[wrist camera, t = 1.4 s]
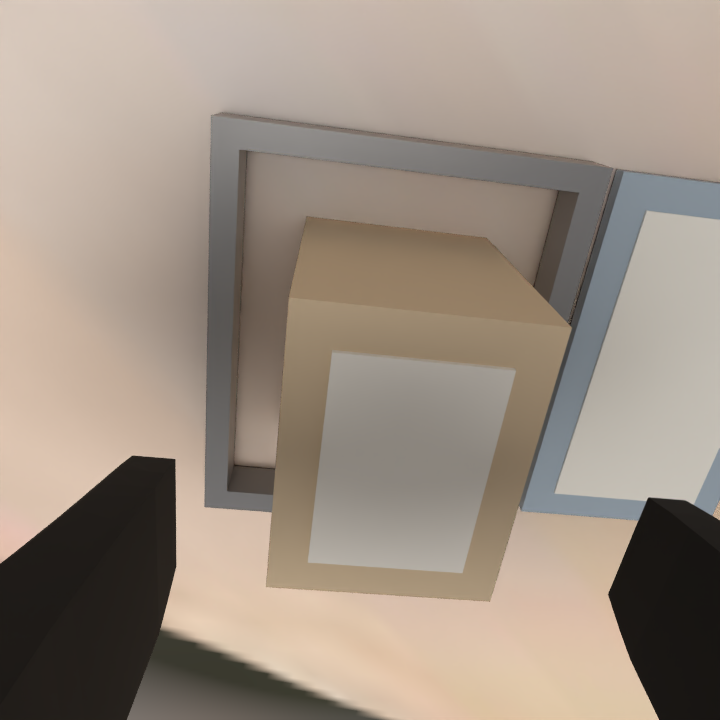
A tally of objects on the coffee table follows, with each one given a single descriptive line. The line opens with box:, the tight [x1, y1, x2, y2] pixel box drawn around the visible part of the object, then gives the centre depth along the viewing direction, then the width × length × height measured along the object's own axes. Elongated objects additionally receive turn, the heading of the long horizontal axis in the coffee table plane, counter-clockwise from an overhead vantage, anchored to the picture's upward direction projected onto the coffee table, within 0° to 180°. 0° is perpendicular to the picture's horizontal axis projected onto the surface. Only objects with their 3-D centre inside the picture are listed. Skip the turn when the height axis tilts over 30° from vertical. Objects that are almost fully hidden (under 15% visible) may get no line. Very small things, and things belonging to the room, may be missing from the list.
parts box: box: [266, 217, 572, 602], centre depth 13 cm, size 4×6×6 cm
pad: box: [519, 169, 720, 520], centre depth 16 cm, size 6×10×1 cm, turn 173°
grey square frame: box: [205, 113, 613, 512], centre depth 15 cm, size 9×10×1 cm
